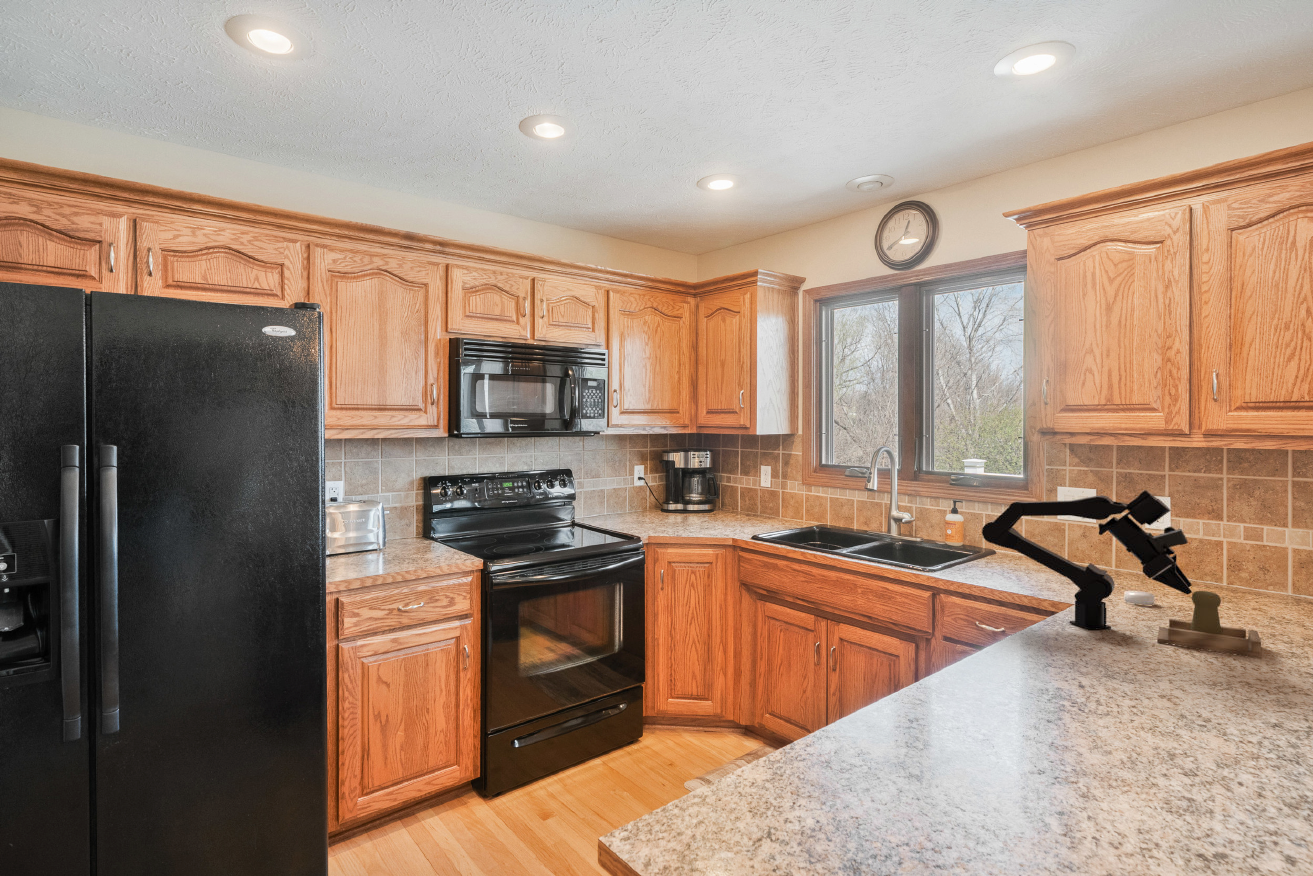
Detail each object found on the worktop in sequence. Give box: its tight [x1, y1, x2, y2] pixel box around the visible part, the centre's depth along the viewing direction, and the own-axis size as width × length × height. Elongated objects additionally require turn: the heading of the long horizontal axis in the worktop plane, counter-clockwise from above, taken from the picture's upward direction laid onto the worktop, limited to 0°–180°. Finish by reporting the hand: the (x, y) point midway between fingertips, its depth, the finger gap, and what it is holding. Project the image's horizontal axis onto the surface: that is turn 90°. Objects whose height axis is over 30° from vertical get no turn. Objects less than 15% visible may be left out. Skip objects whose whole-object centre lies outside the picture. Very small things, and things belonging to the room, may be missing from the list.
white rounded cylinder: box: [1123, 590, 1155, 605], centre depth 193 cm, size 7×7×3 cm
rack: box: [1156, 618, 1262, 660], centre depth 155 cm, size 18×12×4 cm, turn 52°
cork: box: [1191, 590, 1222, 635], centre depth 156 cm, size 6×6×11 cm
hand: (1190, 589), depth 157 cm, fingers open, 9 cm apart
